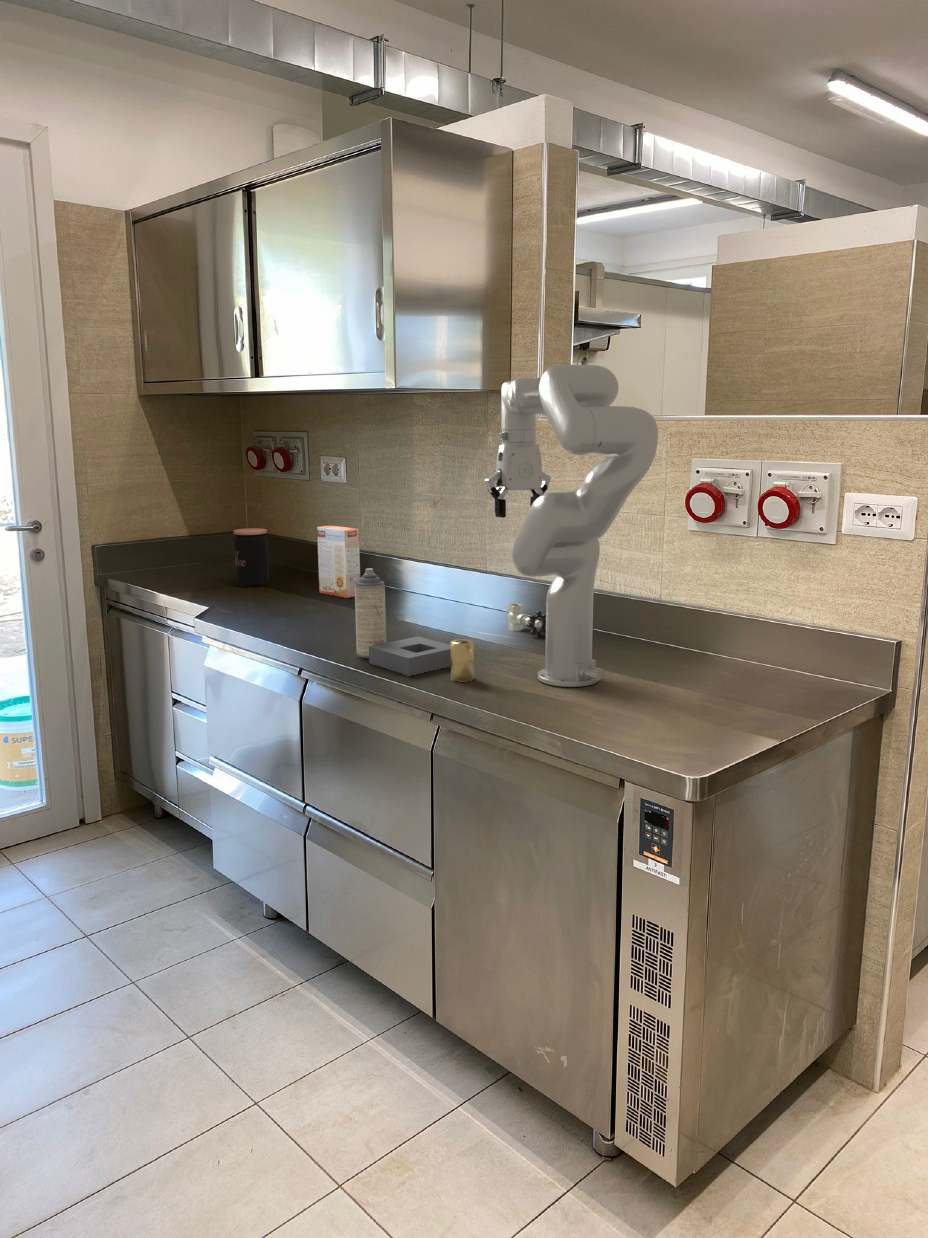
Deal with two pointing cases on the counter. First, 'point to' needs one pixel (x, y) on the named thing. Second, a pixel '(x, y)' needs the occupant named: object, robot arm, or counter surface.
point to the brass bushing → (462, 660)
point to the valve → (525, 620)
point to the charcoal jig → (411, 655)
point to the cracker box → (338, 560)
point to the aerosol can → (369, 612)
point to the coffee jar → (251, 557)
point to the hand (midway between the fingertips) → (518, 515)
